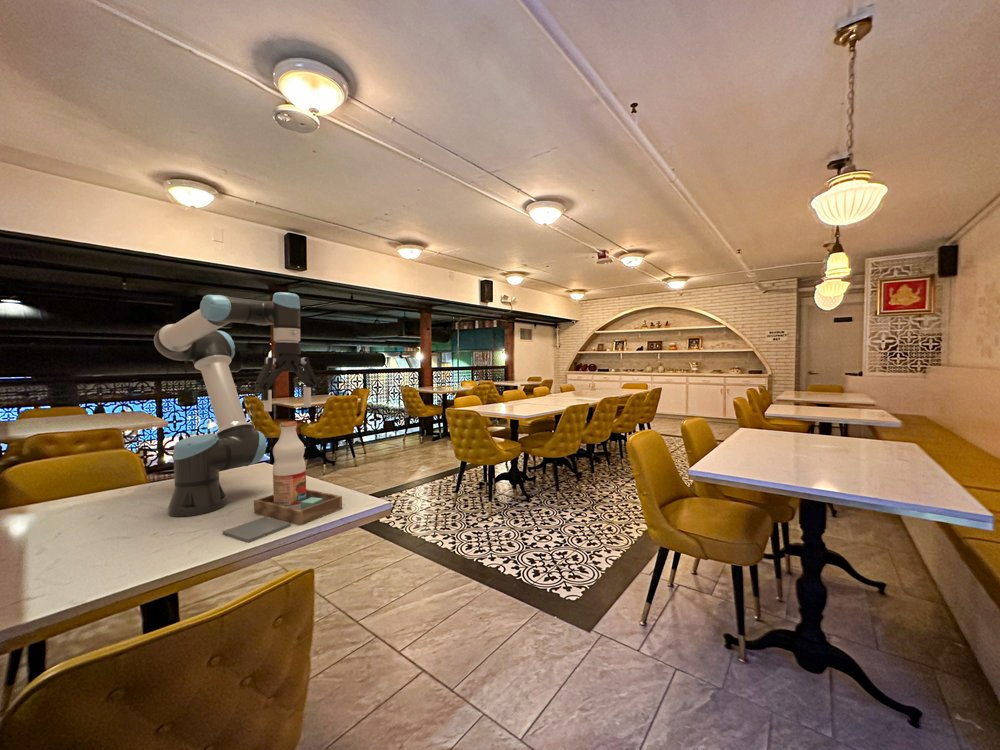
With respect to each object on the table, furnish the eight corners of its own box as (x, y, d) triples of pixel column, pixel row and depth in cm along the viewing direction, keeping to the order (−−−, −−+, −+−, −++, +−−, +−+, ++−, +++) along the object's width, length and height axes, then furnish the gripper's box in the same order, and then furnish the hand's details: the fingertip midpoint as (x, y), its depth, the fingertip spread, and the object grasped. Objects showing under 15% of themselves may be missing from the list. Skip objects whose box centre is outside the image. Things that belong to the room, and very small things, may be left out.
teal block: (301, 516, 124) (300, 501, 124) (312, 511, 128) (311, 497, 128) (312, 517, 122) (312, 503, 122) (323, 512, 127) (323, 498, 126)
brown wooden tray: (254, 513, 127) (253, 500, 126) (297, 498, 140) (297, 487, 140) (300, 525, 116) (299, 511, 116) (342, 508, 130) (341, 496, 130)
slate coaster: (222, 534, 111) (222, 531, 111) (265, 519, 122) (265, 516, 122) (248, 542, 105) (248, 539, 105) (290, 526, 116) (290, 523, 116)
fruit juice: (275, 506, 132) (272, 421, 131) (307, 502, 136) (304, 419, 135) (272, 516, 124) (270, 425, 123) (306, 511, 128) (304, 423, 127)
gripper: (255, 340, 115) (256, 414, 116) (328, 343, 138) (329, 405, 138) (239, 340, 119) (241, 412, 120) (313, 343, 141) (314, 404, 142)
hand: (288, 408), depth 129 cm, fingers open, 13 cm apart
